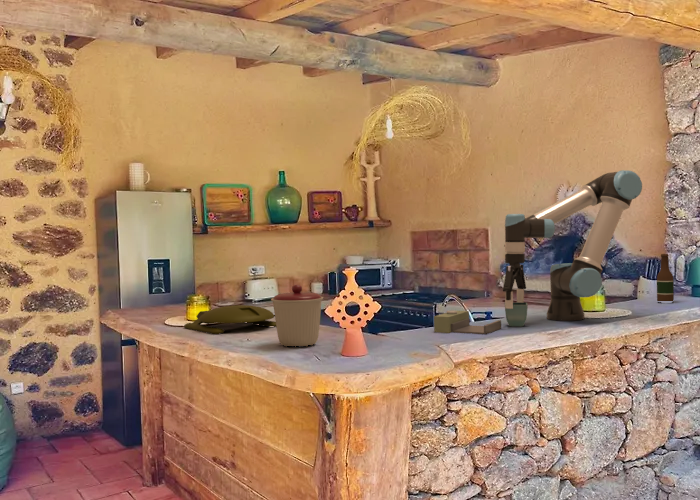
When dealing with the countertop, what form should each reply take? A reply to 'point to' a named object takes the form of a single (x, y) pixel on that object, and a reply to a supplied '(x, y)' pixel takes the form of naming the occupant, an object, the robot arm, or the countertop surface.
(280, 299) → the canister
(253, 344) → the countertop surface
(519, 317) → the flower pot
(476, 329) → the chute
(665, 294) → the beer bottle
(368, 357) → the countertop surface
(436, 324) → the olive stepped block
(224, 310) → the spaceship
